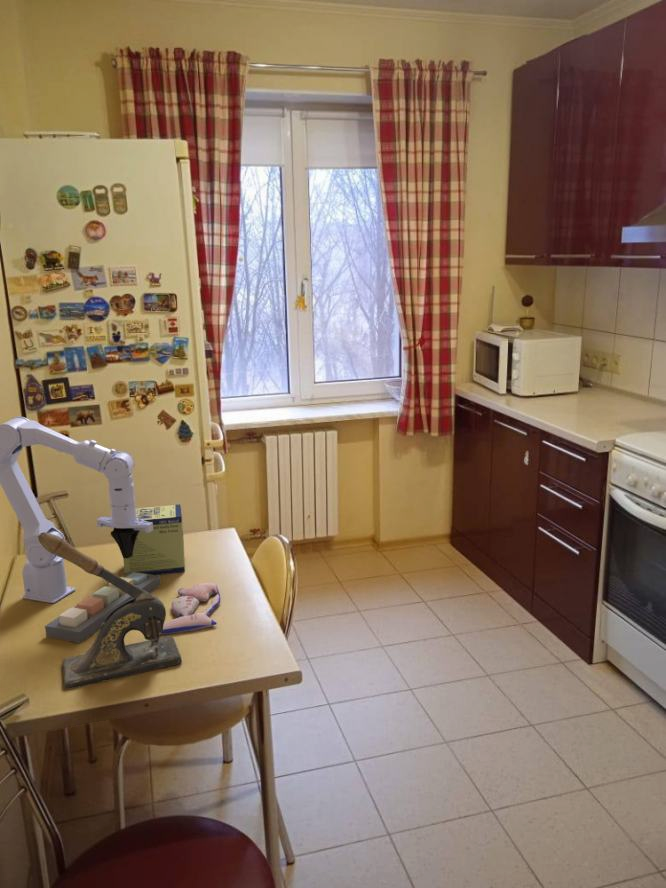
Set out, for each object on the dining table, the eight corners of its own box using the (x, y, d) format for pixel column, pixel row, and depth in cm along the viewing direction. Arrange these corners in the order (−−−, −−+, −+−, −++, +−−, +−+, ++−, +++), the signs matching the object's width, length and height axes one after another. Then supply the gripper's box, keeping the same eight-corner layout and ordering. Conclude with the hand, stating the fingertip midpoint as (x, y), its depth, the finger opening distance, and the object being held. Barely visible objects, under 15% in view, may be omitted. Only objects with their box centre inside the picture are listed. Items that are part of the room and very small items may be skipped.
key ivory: (60, 628, 151) (59, 615, 151) (73, 619, 155) (71, 607, 154) (75, 630, 150) (74, 618, 149) (88, 622, 154) (86, 609, 153)
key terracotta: (78, 616, 157) (76, 604, 156) (89, 608, 160) (88, 596, 159) (92, 619, 155) (91, 606, 154) (104, 611, 159) (103, 598, 158)
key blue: (124, 589, 172) (123, 578, 171) (134, 583, 176) (133, 572, 175) (138, 592, 171) (137, 580, 170) (147, 585, 174) (146, 574, 174)
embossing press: (183, 667, 138) (171, 524, 131) (55, 692, 131) (35, 541, 124) (176, 641, 148) (165, 506, 141) (57, 662, 141) (39, 522, 134)
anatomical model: (158, 639, 150) (228, 628, 154) (157, 627, 150) (227, 616, 153) (154, 598, 169) (217, 589, 173) (153, 587, 168) (216, 578, 172)
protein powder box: (186, 572, 183) (181, 515, 179) (124, 579, 179) (118, 521, 176) (185, 557, 193) (181, 503, 189) (126, 563, 189) (121, 509, 186)
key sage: (94, 605, 162) (93, 593, 161) (105, 598, 165) (104, 586, 165) (108, 607, 160) (107, 595, 160) (119, 600, 164) (118, 588, 163)
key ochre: (109, 595, 167) (108, 583, 166) (120, 588, 170) (119, 576, 170) (123, 597, 165) (122, 585, 165) (134, 590, 169) (132, 578, 168)
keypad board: (46, 636, 151) (44, 626, 150) (130, 580, 178) (129, 571, 178) (80, 643, 148) (79, 632, 147) (160, 584, 175) (159, 575, 175)
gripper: (158, 500, 167) (162, 553, 171) (107, 495, 172) (113, 547, 175) (141, 510, 161) (146, 565, 164) (89, 504, 166) (94, 558, 169)
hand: (127, 556), depth 169 cm, fingers closed
